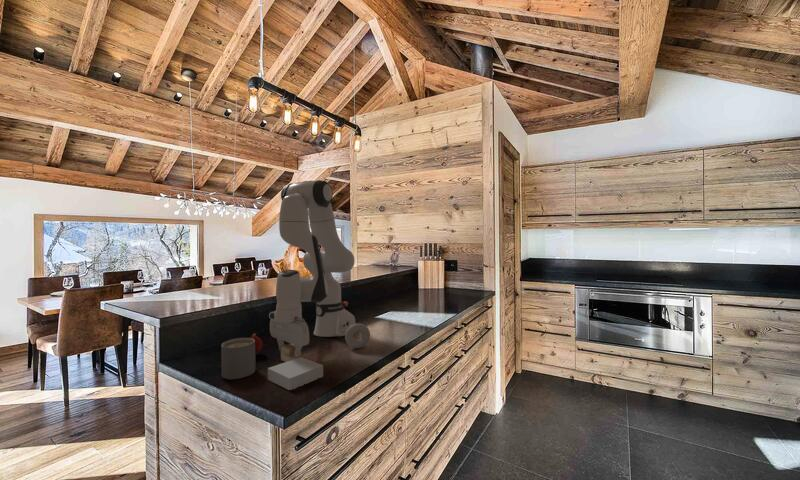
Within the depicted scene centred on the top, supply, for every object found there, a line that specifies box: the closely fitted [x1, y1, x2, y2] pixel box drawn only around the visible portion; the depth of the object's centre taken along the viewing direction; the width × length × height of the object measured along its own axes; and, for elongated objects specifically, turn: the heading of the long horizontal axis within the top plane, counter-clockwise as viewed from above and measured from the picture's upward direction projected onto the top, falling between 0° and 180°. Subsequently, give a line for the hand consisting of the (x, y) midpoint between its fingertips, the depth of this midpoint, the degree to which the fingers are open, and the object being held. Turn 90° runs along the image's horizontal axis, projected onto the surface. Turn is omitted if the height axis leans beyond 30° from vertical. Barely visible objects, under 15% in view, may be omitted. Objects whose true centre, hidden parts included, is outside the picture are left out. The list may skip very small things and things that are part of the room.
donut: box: [344, 322, 371, 349], centre depth 129 cm, size 10×4×10 cm, turn 102°
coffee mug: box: [220, 337, 256, 380], centre depth 109 cm, size 13×10×10 cm
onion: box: [250, 333, 263, 356], centre depth 123 cm, size 6×6×8 cm
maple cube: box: [280, 343, 302, 363], centre depth 118 cm, size 5×5×5 cm
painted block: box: [267, 356, 324, 391], centre depth 102 cm, size 12×12×4 cm
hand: (289, 353), depth 118 cm, fingers open, 8 cm apart
